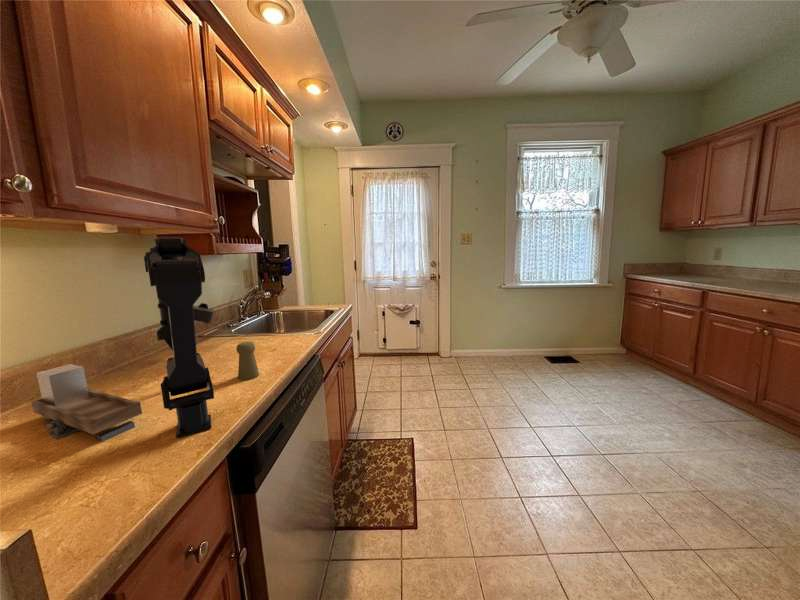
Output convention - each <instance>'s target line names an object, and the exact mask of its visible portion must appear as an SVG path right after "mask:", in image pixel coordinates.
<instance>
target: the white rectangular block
mask: <svg viewBox="0 0 800 600" xmlns="http://www.w3.org/2000/svg"><path fill="white" fill-rule="evenodd" d="M36 377H37V381H38V387H39V391H40V396H41V399H42V401H43V403H46V404H49V405H52V406H55V407H58V408H61V407H64V406H66V405H69V404H72V403H75V402H78V401H81V400H84V399H87V398H89V393H88V389H89V388H88V383H87V378H86V373H85V368H84V366H81V365H77V364H72V363H69V364H66V365H65V364H64V365H62V366H57V367H54V368H49V369H46V370H42V371H38V372H36Z"/></svg>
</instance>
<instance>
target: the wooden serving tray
mask: <svg viewBox="0 0 800 600" xmlns="http://www.w3.org/2000/svg"><path fill="white" fill-rule="evenodd" d="M88 393H89V398H87V399H84V400H81V401H78V402H75V403H72V404H69V405H66V406H64V407H61V408H58V407H55V406H52V405H49V404H46V403H43V401H42V398H39V399H36V400H33V401H31V406H32V410H33V413H34V414H37V415H39V416H42V417H44V418H45V417H47V418H50V419H52V421H55V420H58V421H61V423H62V424H64V425H65V426H67V425H69V426H72V427H74V428H77V429H80V430H79V431H83V432H86V433H89V434H90V435H96V434H97V433H98V434H99V433H101V432H103V431H104V430H105V431H106V430H107V429H109V428H113V427H115V426H116V425H117V426H118V425H120V424H121V423H123V422H124V423H125V422H127V421H128V420H131V419H133V418H135V417H137V416H139V415H142V414H143V412H142V411H143V410H142V405H141V402H140V401H137V400H136V401H135V400H132V399H128V398H124V397H122V396H117V395H113V394H110V393H109V394H108V393H105V392H102V391H98V390H95V389H91V388H88Z"/></svg>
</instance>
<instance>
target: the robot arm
mask: <svg viewBox="0 0 800 600" xmlns="http://www.w3.org/2000/svg"><path fill="white" fill-rule="evenodd" d="M143 262H144V268H145V273H148V278H149V284H150V287H155V290H156V296H157V299H158V303H157V308H158V309H159V315H160V320H159V321H160V327H158V329H157V331H156V336H157V337H156V338H157V341H165V343H166V344H167V345H168V347H169V348H170V349H171V351H172V353H173V356H172V357H169V358H168V359H167V361H166V366H165V367H166V369H165V370H166V376H163V380H162V382H161V383H160V390H161V397H162V403H163V409H165V410H166V409H168V411H172V410H174V409H175V410H176V417H177V423H176V430H175V431H176V432H175V437H176V438H180V437H184V436H188V435H191V434H194V433H195V434H196V433H199V432H203V431H208V430H210V429H211V428H212V415H211V414H209V409H208V403H207V401H208V400H213V399H215V392H214V388H213V382H212V379H211V374H210V370H209V367H206V365H205V362H204V359H203V357H202V355H201V354H200V353H199V352H198V351H197V339H196V325H195V321H197V322H202V323H204V324H211V323H212V319H213V317H214V313H215V311H214V309H213V308H209V305H208V304H207V303H205V302H201V303H200V304H198V305H195V303H196V302H197V300H199V299H200V297H201V296H202V294H203V284H204V283H206V272H205V268H204V264H203V261H202V258H201V255H200V253H199V252H197V251H196V250H194V249H193V248H192V247H190V246H189V245H188V244H187V241H186V239H185V238H182V237H180V236H174V237H173V236H171V237H169V236H168V237H167V236H164V237H163V236H159V237H155V238H154V246H150V247H149V251H146V252H145V255H144V256H143ZM204 389H207V390H204ZM200 390H202V391H200ZM195 391H199V392H195ZM192 392H194V393H192ZM188 393H190V394H188ZM183 394H186V395H183ZM180 395H183V396H180ZM175 396H178V397H175ZM171 397H175V398H171Z"/></svg>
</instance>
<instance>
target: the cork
mask: <svg viewBox="0 0 800 600" xmlns="http://www.w3.org/2000/svg"><path fill="white" fill-rule="evenodd" d="M255 351H256V345H255V343H254V342H252V341H243V342H239V343H238V344H237V345H236V353H237V354H238V374H237V376H238V377H237V378H238V380H239V381H250V380H255V379H256V378H258V377H259V376H260V371H259V368H258V365H257V361H256V360H257V359H256V357H255V356H256V355H255Z"/></svg>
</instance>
